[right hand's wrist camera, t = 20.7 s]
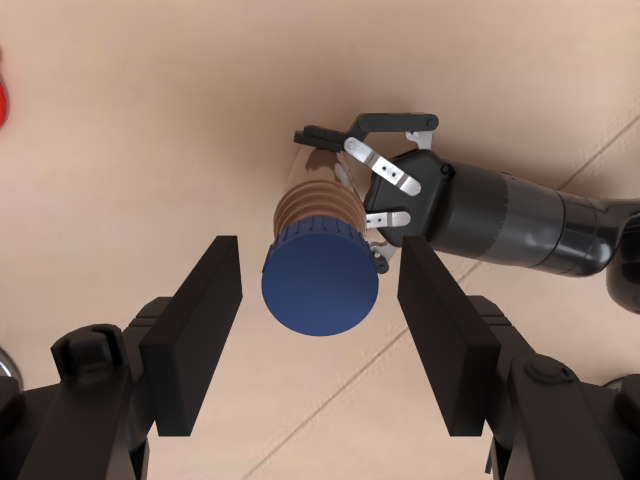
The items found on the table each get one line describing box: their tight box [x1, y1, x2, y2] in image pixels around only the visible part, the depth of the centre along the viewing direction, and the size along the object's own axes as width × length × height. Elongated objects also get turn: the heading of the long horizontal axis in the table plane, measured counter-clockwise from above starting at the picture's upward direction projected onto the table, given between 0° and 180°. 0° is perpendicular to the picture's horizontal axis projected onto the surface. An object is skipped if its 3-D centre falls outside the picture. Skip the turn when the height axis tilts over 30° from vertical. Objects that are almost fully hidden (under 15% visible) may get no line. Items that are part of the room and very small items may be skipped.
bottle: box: [273, 144, 367, 239], centre depth 25 cm, size 5×5×24 cm
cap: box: [262, 216, 379, 336], centre depth 14 cm, size 4×4×2 cm
